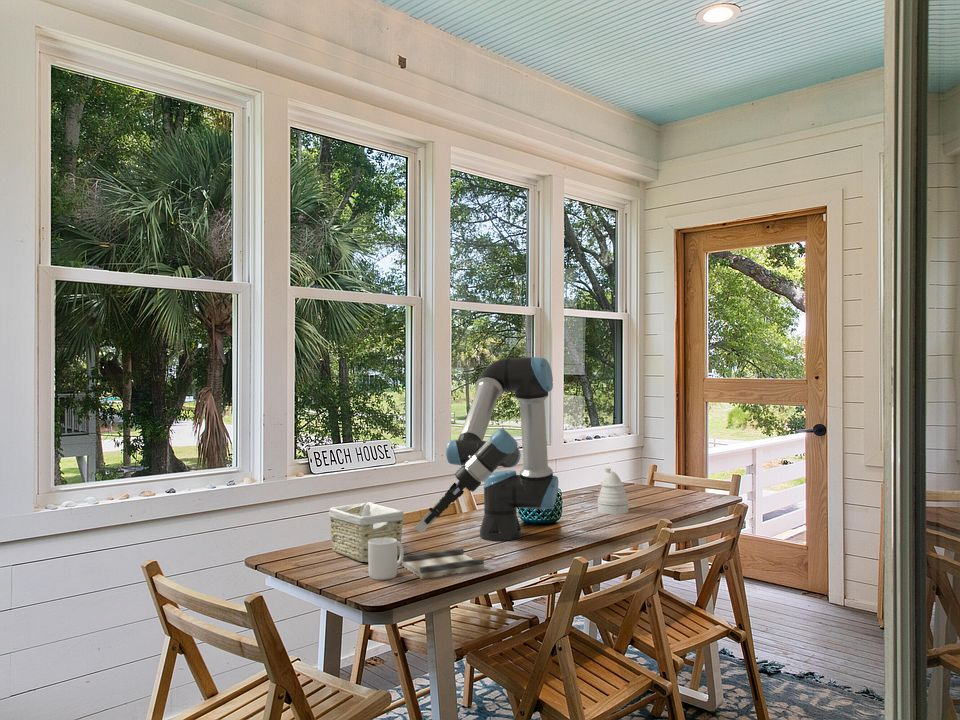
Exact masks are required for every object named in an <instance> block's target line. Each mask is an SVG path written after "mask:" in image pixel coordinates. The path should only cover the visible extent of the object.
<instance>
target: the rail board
mask: <svg viewBox="0 0 960 720" xmlns="http://www.w3.org/2000/svg"><path fill="white" fill-rule="evenodd" d="M484 560H485V559H484V558H482V557H481V558H475V559H474V558H472V557H470V556H468V555H467V554H465V553H464V548H454V549H445V550H439V551H431V552H422V553H415V554H408V555H404V556H403V560H402V563H401V564H402V565H401V566H402V567H403V566H404V567H403V568H405V569H406V568H407V569H406V570H408V571H409V570H410V571H409V572H410V573H412V572H413V573H412V574H414V575H415V574H416V575H415V576H417V577H418V576H419V577H418V578H419V579H421V580H422V579H423V580H424V578H425V579H429V578H439V577H444V576H443V575H445V576H450V575H449V574H451V575H456V574H455V573H458V574H463V573H462V572H465V573H470V571H471V572H476V571H484V570H485V561H484ZM468 571H469V572H468Z"/></svg>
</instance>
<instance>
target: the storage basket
mask: <svg viewBox="0 0 960 720" xmlns="http://www.w3.org/2000/svg"><path fill="white" fill-rule="evenodd" d="M355 514H356V515H355ZM328 516H329V518H330V522H329V523H330V534H331V536H330V537H331V549H332V551H333V552H335V553H336V552H337V553H338V554H340V555H342V556H345V557H348V558H349V559H353V560H355V561H358V562H362V563H363V562H364V563H366V562H367V563H368V541H369V540H371V539H375V538H394V539H397V542H401V543H402V537H403V536H402V535H403V534H402V533H403V531H402V530H403V525H404V520H405V516H404V511H403V510H399V509H395V508H393V507H388V506H383V505H380V504H376V503H375V502H374V503H373V502H370V501H368V502H363V503H361V502H360V503H354V504H347V505H340V506H333V507H330V509H329V512H328ZM398 556H400V548H399V546H397V557H398Z"/></svg>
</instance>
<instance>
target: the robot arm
mask: <svg viewBox="0 0 960 720" xmlns="http://www.w3.org/2000/svg"><path fill="white" fill-rule="evenodd" d="M553 381H554V377H553V372H552V367H551V365H550V363H549V361H548V360H547V359H546V358H545V357H535V356H529V357H512V358H510V357H504V358H499V359H497V360H495V361H493V362H492V363H490V364H489V365H488V366H487V367H486V368H485V369H484V370H483V371H482V372H481V373H480V374H479V376H478V377H477V380H476V383H475V387H474V388H475V394H474V397H473V399H472V402H471V405H470V408H469V410H468V412H467V415H466V418H465V421H464V423H463V426H462V428H461V432H460V434H459V436H458V438H457V439H454V440H453V439H452V440H450V441H449V442H448V443H447V445H446V447H445V448H446V449H445V456H446V460H447V462H448V463H449V464H450V465H455V466H461V467H459V468H458V470H457V471H455V472H454V475H455V478H456V480H458V482H457V483H456V482H454V483H453V484H452V485H450V486H449V489H448V490H447V491H446V492H445V493H444V496H442V497H441V498H440V499H439V501H437V502H436V503H435V504H434V505H433V506H432V507H430V508H429V509H428V511H427V512H426V514H424V516H422V519H421V520H420V521H419V522H418V523H417V524H416V525H415V526H414V528H415V530H416V531H418V532H419V534H420V535H422V534H423V533H424V532H425V531H426V530H427V529H428V528H429V527H430V526H431V524H432V523H434V522H435V521H436V519H437V518H439V517H440V516H441V514H442V513H444V512H445V510H448V508H449V506H450V505H451V504H453V503H454V502H455V501H457V500H458V498H460V497H462V495H464V493H465V491H464V489H467V490H468V491H469V492H472V493H473V492H474V491H476V490H477V489H478V488H479V487H480V486H481V485H482V484H481V483H482V482H483V483H484V484H483V505H484V511H483V512H484V515H483V519H482V520H481V526H480V529H479V537H480V538H481V539H483V540H487V541H488V540H489V541H494V542H495V541H496V542H497V541H498V542H499V541H501V542H502V541H504V542H505V541H512V540H513V541H514V540H518V539H520V538H521V537H522V535H523V533H522V532H523V531H522V527H521V524H520V521H519V518H518V515H517V509H530V510H531V509H535V510H551V509H552V508H553V507H555V504H556V501H557V497H558V491H559V477H558V476H557V475H554V472H553V469H552V468H551V467H550V466H549V459H548V458H549V457H548V442H547V427H546V425H547V423H546V406H545V400H546V399H547V398H548V397H549V392H551V391H552V390H553V388H554V383H553ZM504 392H513V393H514V398H515V399H516V400H517V401H518V402H519V409H520V410H519V411H520V412H519V413H520V426H521V427H520V428H521V445H522V455H521V451H520V448H519V447H518V446H519V445H518V442H517V440H516V439H515V438H514V437H513V436H512V435H511V433H509V432H508V431H507V430H505V429H504V428H499V429H497V430H496V431H495V432H494V433H492V434H491V436H490V437H489V438H488V439H487V440H484V438H485V435H486V432H487V430H488V426H489V423H490V421H491V418H492V415H493V413H494V410H495V406H496V404H497V400H498V399H500V397H501V396H502V395H503V393H504ZM521 456H522V460H523V467H522V469H521V470H520V471H519V474H517V472H516V470H514V469H513V470H501V471H496V470H497V468H498V467H503V468H509V469H510V468H513V467H515V466H516V465H518V464H519V462H520V460H521ZM494 471H495V472H494Z"/></svg>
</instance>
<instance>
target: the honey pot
mask: <svg viewBox="0 0 960 720" xmlns="http://www.w3.org/2000/svg"><path fill="white" fill-rule="evenodd" d="M611 470H612V469H611V468H609V467H608V468H607V467H605V468H604V471H605V473H606V474H607V475H606V477H605V478H604V480H603V482H600V484H599V485H600V486H601V489H600V490H599V494H598V497H597V512H598V513H600V512H601V513H600V514H605V513H607V514H606V515H624V514H628V513H629V498H628V495H627V493H626V489H625V488H624V486H625V484H624V482H622V480H621V479H620V477H619V475H618V474H617V473H616V472H614V471H611Z"/></svg>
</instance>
